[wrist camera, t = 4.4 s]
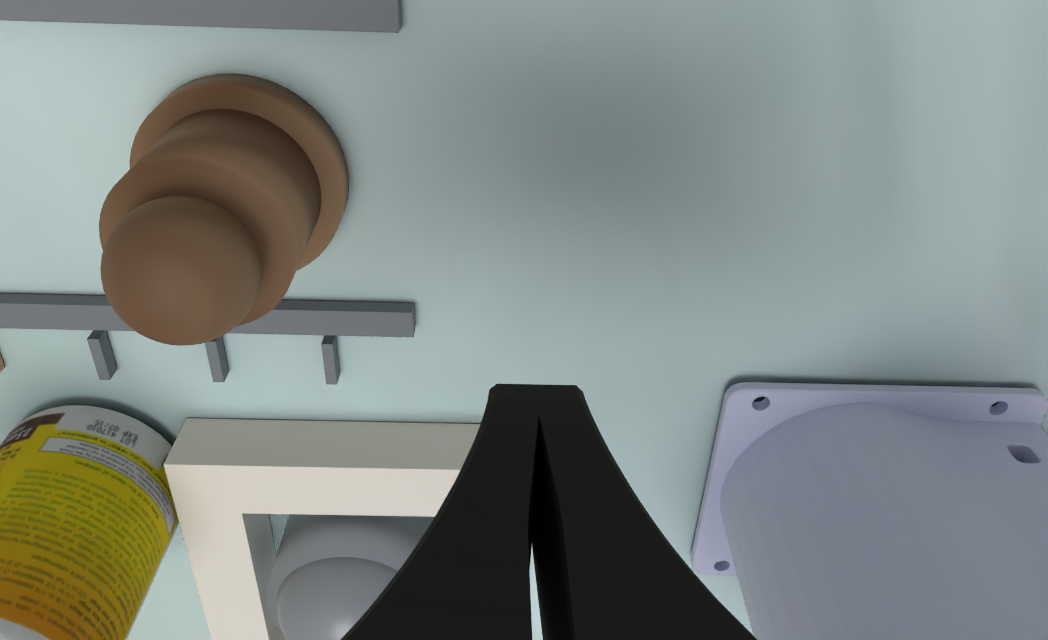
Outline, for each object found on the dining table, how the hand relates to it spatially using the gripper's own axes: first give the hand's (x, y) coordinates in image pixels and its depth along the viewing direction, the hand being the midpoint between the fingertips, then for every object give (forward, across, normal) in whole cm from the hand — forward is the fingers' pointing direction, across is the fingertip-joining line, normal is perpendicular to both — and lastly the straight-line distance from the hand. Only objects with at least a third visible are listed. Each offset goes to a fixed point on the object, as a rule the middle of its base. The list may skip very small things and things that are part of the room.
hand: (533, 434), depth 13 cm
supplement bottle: (+10, +13, +10) cm, 19 cm away
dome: (+9, +5, +13) cm, 17 cm away
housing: (+10, +5, +13) cm, 17 cm away
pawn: (+10, +7, 0) cm, 12 cm away
